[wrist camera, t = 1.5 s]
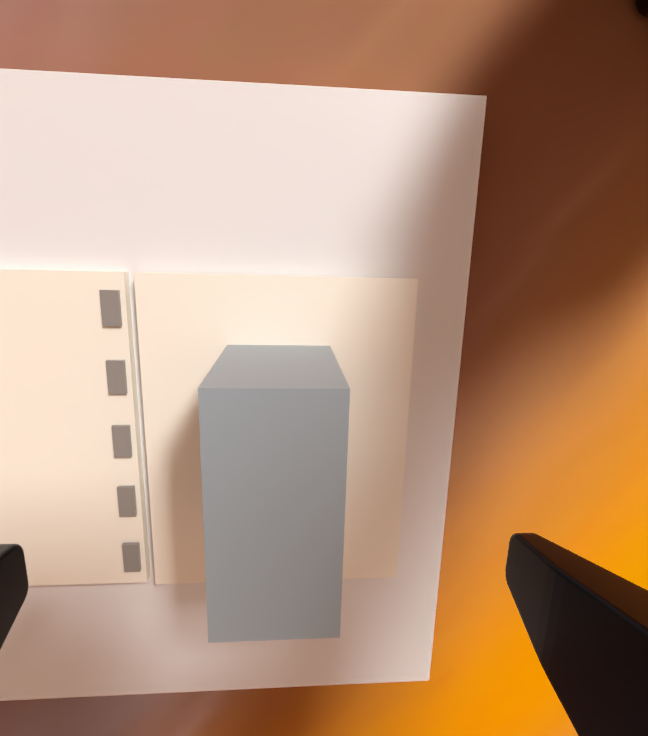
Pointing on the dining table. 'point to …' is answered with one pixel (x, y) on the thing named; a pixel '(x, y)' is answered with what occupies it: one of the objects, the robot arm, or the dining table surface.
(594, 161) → the dining table surface
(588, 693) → the robot arm
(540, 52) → the dining table surface
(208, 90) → the board
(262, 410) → the cream plate grey block
